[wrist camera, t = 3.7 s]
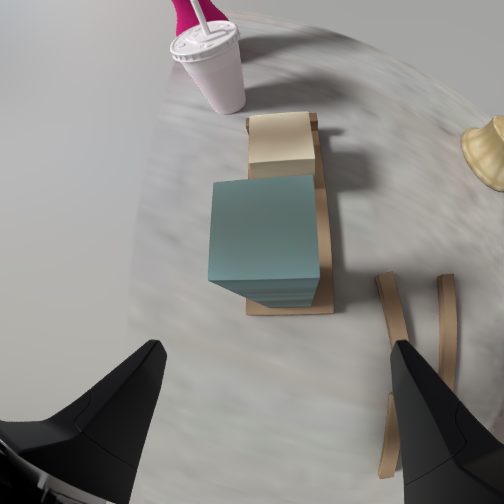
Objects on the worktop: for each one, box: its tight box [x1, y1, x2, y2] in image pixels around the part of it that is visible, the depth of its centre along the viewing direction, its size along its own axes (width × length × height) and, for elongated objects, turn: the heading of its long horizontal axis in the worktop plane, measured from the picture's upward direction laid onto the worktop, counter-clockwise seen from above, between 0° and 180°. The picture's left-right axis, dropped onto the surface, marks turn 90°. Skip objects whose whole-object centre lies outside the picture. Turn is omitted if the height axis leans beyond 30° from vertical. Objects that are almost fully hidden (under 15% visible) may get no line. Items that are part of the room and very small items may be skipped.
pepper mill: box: [172, 0, 229, 37], centre depth 21 cm, size 7×7×20 cm
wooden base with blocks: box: [208, 113, 334, 315], centre depth 16 cm, size 17×6×14 cm, turn 179°
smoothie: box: [170, 0, 246, 115], centre depth 20 cm, size 6×6×14 cm
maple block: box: [249, 111, 315, 185], centre depth 20 cm, size 4×4×4 cm
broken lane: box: [375, 271, 457, 479], centre depth 16 cm, size 18×7×1 cm, turn 179°
